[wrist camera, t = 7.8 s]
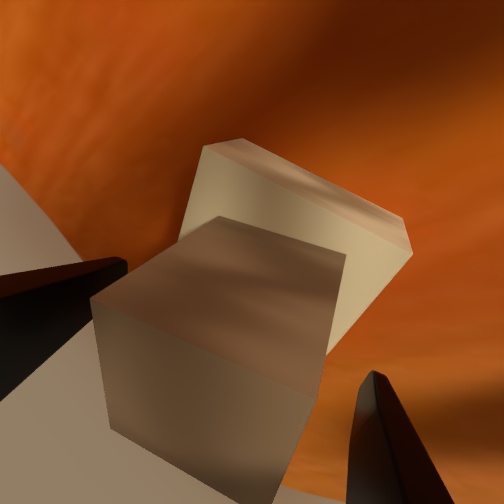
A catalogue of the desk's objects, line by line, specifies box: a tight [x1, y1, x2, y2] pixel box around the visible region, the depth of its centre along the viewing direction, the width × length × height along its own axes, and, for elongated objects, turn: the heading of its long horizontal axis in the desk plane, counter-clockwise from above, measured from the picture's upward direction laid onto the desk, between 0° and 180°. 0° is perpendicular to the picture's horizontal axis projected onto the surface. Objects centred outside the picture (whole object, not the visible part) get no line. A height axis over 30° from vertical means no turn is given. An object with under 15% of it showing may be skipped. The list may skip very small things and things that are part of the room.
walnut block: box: [90, 216, 347, 504], centre depth 9 cm, size 5×5×6 cm
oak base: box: [178, 138, 413, 355], centre depth 13 cm, size 8×8×4 cm
